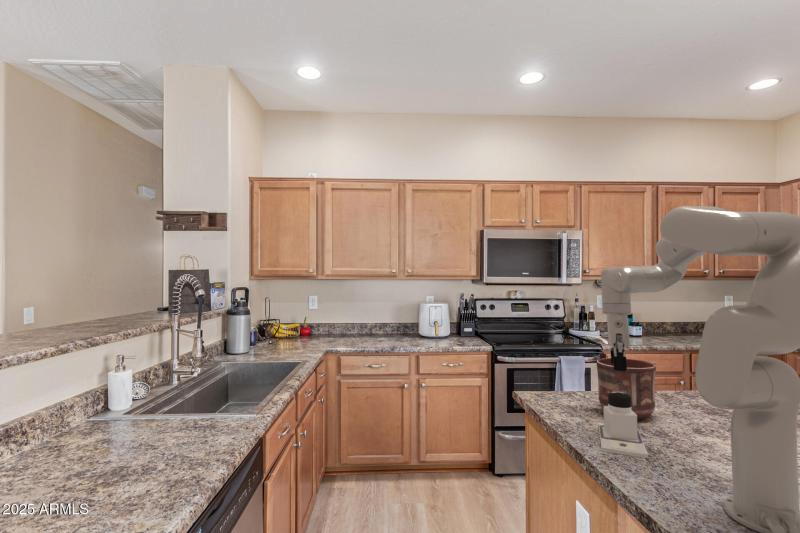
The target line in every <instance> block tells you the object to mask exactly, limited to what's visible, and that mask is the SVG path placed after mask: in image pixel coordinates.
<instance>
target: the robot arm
mask: <svg viewBox="0 0 800 533" xmlns="http://www.w3.org/2000/svg"><path fill="white" fill-rule="evenodd" d="M659 226H660V227H659V231H660V235H661V238H660V239H659V240H658V241H657V242H656V244H655V247H654V248H655V249H654V250H655V253H656V255H657V258H658V259H659V260H660V261H658V262H657V263H655V264H654V265H626V266H625V265H623V266H619V267H606V268H603V269H602V270H601V272H600V281H601V282H600V283H601V302H602V303H601V308H602V309H601V310H602V311H601V312H602V314H603V315H606V319H607V320H606V324H607V328H606V329H607V336H608V344H609V346H610V349H611V350H610V358H611V363H612V364H614V370H617V371H626V370H627V366H626V358H627V356H626V350H630V348H631V344H630V343H631V342H630V328H629V326H630V325H629V318H628V316H629V315H632V304H631V303H632V302H631V299H632V298H631V294H638V293H641V294H642V293H646V294H647V293H658V292H662V291H664V290H667V289H668V288H670V287H672V286H674V285H675V284H677V283H678V282H680V281H681V280H682V279H683V278H684V277H685V275H686V272H687V271H688V266H689V265H690V264H691V263H693V262H695V261H696V260H697V259H699V258H700V257H702V256H704V255H705V254H706V253H708V254H714V255H719V256H728V257H731V256H732V257H741V256H742V257H746V256H747V257H750V256H753V257H755V256H756V257H757V256H765V257H767V260H766V262H765V264H763V266H762V267H761V268H760V269H759V270H758V272H757V273H756V275H755V277H754V279H753V282H752V286H751V292H750V295H749V297H748V298H749V299H748V300H747V303H746V304H737V305H735V304H733V305H727V306H723V307H720V308H718V309H716V310H715V311H714V312H712V314H710V316H709V317H708V318H707V320H706V322H705V324H704V327H703V331H702V336H701V340H700V346H699V351H698V356H697V360H696V365H695V372H694V380H695V386H696V390H697V393H698V394H699V395H700V396H701V398H702V400H704V401H705V402H706V403H707V404H709V405H710V406H712V407H715V408H717V409H721V410H733V411H732V414H731V418H730V447H731V448H730V449H731V473H732V474H731V475H732V496H727V497H726V498H725V499H724V500H723V508H724V512H726V514H727V515H728V516H729V517H730V518H732V519H733V520H735V521H736V522H738V524H740V525H743V526H744V527H746V528H748V529H751V530H753V531H755V532H758V533H800V488H799V467H798V466H799V465H798V464H799V463H798V432H797V431H798V430H797V429H798V428H797V427H798V415H799V409H800V376H799V374H798V373H797V371H796V370H795V369H794V368H793V367H792V366H791V365H790V364H789V363H786V362H785V361H783V360H781V359H778V358H776V357H770V356H774V355H775V356H776V355H783V354H784V355H785V354H791V353H794V352H795V351H797V350H798V349H799V348H800V215H797V214H794V213H789V212H782V211H781V212H780V211H732V210H731V211H729V210H727V209H726V208H722V207H719V206H710V205H709V206H708V205H707V206H705V205H704V206H703V205H702V206H699V205H698V206H695V205H683V206H678V207H675V208H673V209H671V210H669V211H668V212H667V213H666V214H665V215H664V216H663V218H662V220H661V221H660V225H659Z"/></svg>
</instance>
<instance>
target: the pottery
mask: <svg viewBox="0 0 800 533" xmlns="http://www.w3.org/2000/svg"><path fill="white" fill-rule="evenodd" d="M626 366H627V370H626V371H617V370H614V364H612V363H611V357H605V358H604V357H603V358H599V359H597V360H596V369H597V382H598V385H597V386H598V387H597V388H598V391H597V392H598V393H597V394H598V401H599V404H600V406H601V408H602V410H604V406H608V394H609V393H611V392H622V393H626V394H628V395H630V396H631V406H632V409H631V410H632V411H633V412H634V413H635V414H636V415H637V421H638V422H641V421H645V420H646V419H647V418H649V417H650V416H652V414H653V413H654V411H655V409H656V408H655V407H656V393H655V386H656V384H655V382H656V379H655V378H656V372H657V365H656V364H655V363H653V362H650V361H646V360H642V359H641V360H640V359H635V358H628V357H626Z"/></svg>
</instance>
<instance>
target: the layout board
mask: <svg viewBox="0 0 800 533" xmlns="http://www.w3.org/2000/svg"><path fill="white" fill-rule="evenodd" d="M597 425H598V426H597V427H598V432H599V433H598V434H599V442H600V446H601V452H604V453H612V454H617V455H624V456H631V457H635V458H636V457H637V458H643V459H649V453H648V451H647V448H646V446H645V443H644V440H643V438H642V436H641V433H640V430H639V429H638V440H631V439H616V438H611V437H610V436H609V434H608V433H607V432H606V430H605V429H604V422H597Z"/></svg>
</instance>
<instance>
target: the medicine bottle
mask: <svg viewBox="0 0 800 533" xmlns="http://www.w3.org/2000/svg"><path fill="white" fill-rule="evenodd" d="M631 409H632V406H631V396H630V395H628V394H626V393H622V392H611V393H609V394H608V406H604V409H603V423H604V429H605V430H606V432H607V433H608V434H609V436H610V437H611V438H616V439H631V440H638V430H639V426H638V423H639V421H637V415H636V414H635V413H634V412H633V411H632V410H631Z"/></svg>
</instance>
